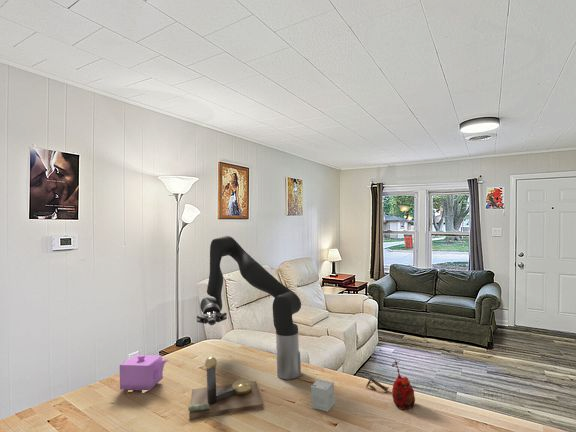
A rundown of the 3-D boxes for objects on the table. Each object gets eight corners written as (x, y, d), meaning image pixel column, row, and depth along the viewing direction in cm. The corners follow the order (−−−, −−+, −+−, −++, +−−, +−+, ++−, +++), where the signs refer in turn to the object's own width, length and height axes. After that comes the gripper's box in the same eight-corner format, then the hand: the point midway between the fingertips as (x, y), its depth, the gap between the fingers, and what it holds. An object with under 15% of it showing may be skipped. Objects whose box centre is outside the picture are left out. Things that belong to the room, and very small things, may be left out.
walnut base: (256, 384, 135) (255, 376, 135) (263, 408, 117) (262, 398, 117) (191, 393, 129) (190, 384, 129) (188, 419, 112) (187, 409, 112)
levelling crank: (245, 384, 131) (244, 343, 132) (255, 391, 126) (254, 348, 126) (202, 400, 120) (201, 356, 121) (211, 408, 115) (210, 361, 115)
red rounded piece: (406, 413, 111) (404, 366, 112) (387, 405, 117) (386, 360, 117) (419, 404, 116) (417, 359, 116) (400, 397, 121) (398, 354, 122)
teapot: (114, 393, 131) (113, 360, 132) (129, 381, 141) (129, 350, 142) (163, 395, 129) (162, 361, 129) (175, 382, 139) (175, 351, 139)
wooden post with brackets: (364, 384, 130) (369, 373, 130) (384, 396, 127) (389, 386, 126) (363, 386, 129) (367, 375, 128) (383, 399, 125) (388, 388, 125)
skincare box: (335, 403, 119) (334, 382, 119) (327, 412, 113) (326, 389, 113) (318, 399, 122) (318, 378, 122) (311, 408, 116) (310, 385, 117)
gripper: (196, 305, 153) (194, 314, 136) (226, 302, 156) (228, 311, 139) (196, 322, 153) (195, 334, 136) (227, 319, 156) (229, 330, 139)
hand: (212, 322), depth 137 cm, fingers closed
